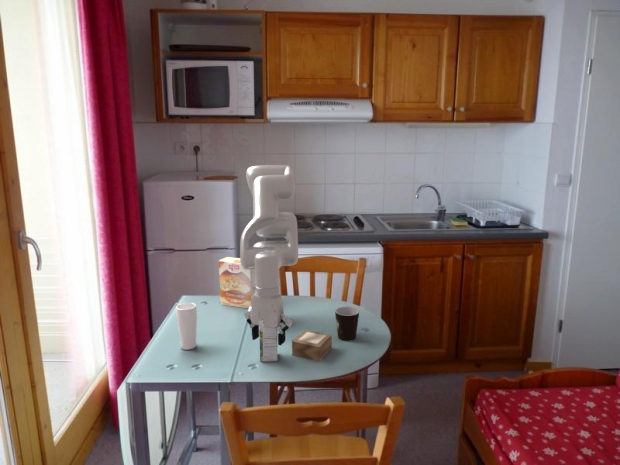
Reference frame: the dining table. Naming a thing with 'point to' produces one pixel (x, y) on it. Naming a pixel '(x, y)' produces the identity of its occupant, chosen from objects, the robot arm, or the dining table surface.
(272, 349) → the syrup box
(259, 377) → the dining table surface
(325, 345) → the pedestal
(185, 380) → the dining table surface
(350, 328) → the coffee mug
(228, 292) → the coffeecake box
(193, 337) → the drinking glass
